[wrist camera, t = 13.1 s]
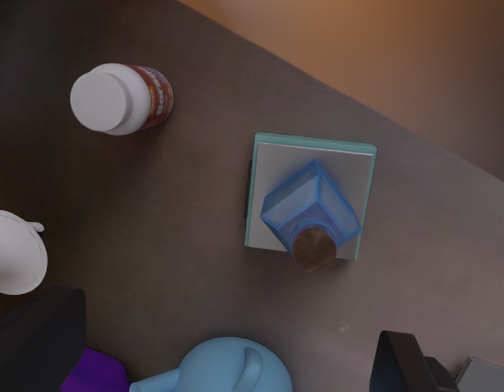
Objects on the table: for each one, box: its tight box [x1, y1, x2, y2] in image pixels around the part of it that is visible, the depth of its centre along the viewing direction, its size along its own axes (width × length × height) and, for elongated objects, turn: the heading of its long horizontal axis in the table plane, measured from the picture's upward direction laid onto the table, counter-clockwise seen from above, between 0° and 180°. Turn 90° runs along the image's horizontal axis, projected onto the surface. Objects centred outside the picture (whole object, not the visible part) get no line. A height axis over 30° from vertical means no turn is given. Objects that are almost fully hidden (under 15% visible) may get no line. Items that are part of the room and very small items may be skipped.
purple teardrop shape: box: [59, 348, 131, 392], centre depth 51 cm, size 5×5×15 cm
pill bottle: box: [70, 63, 173, 135], centre depth 38 cm, size 6×6×11 cm
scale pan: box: [248, 142, 373, 260], centre depth 41 cm, size 11×11×1 cm
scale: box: [244, 132, 377, 260], centre depth 43 cm, size 12×12×3 cm
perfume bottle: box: [260, 160, 363, 272], centre depth 35 cm, size 6×6×12 cm
